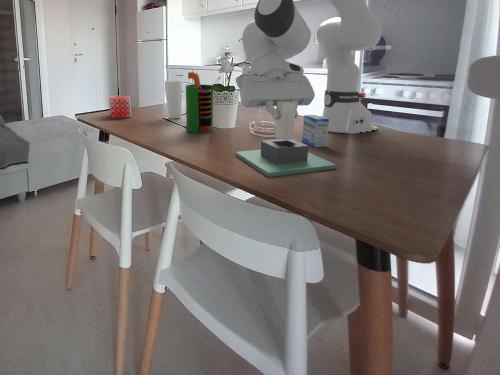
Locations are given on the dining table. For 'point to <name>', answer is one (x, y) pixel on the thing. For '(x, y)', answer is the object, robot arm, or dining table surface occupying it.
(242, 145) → the dining table surface
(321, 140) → the medicine box
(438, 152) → the dining table surface
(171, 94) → the drinking glass
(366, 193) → the dining table surface
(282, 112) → the keyed plug
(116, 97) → the puzzle cube
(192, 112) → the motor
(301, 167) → the socket board
